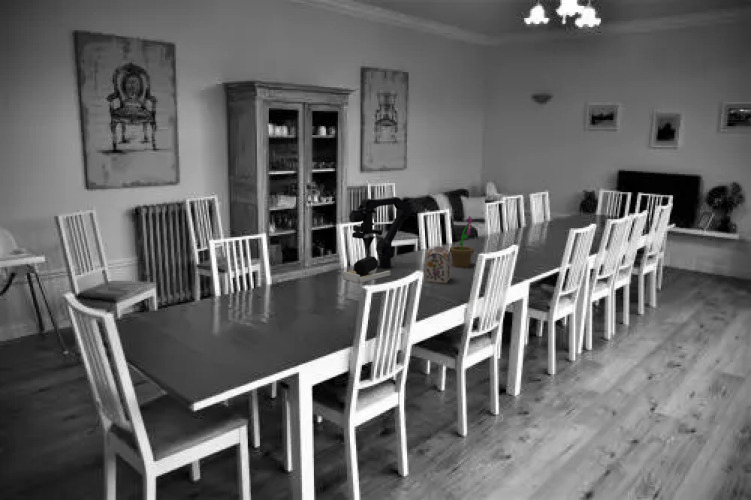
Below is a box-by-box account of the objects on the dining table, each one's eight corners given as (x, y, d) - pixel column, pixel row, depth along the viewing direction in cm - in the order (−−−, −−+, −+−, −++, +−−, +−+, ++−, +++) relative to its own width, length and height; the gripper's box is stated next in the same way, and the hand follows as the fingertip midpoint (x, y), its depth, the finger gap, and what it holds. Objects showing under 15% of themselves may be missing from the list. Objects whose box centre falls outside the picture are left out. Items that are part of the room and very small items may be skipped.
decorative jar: (446, 284, 301) (447, 249, 298) (424, 282, 305) (425, 248, 301) (450, 278, 313) (451, 245, 309) (429, 276, 316) (430, 244, 312)
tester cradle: (374, 271, 325) (374, 262, 324) (390, 275, 317) (390, 266, 316) (342, 278, 309) (342, 269, 308) (358, 283, 300) (358, 273, 299)
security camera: (351, 280, 305) (351, 262, 303) (366, 273, 321) (367, 255, 319) (362, 282, 302) (363, 263, 300) (378, 274, 318) (378, 256, 316)
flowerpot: (470, 269, 334) (472, 217, 327) (445, 266, 339) (447, 215, 333) (475, 264, 347) (478, 214, 341) (452, 261, 352) (454, 212, 346)
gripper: (369, 218, 336) (369, 244, 339) (345, 221, 323) (345, 248, 326) (383, 220, 328) (382, 247, 332) (359, 223, 315) (359, 251, 318)
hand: (367, 248), depth 327 cm, fingers closed
